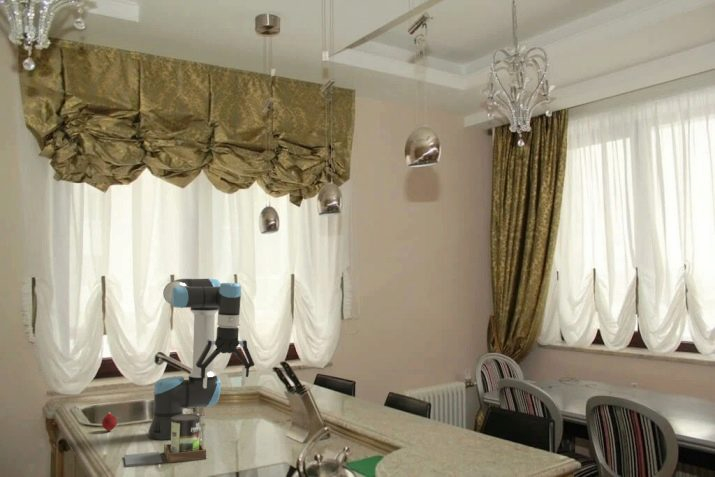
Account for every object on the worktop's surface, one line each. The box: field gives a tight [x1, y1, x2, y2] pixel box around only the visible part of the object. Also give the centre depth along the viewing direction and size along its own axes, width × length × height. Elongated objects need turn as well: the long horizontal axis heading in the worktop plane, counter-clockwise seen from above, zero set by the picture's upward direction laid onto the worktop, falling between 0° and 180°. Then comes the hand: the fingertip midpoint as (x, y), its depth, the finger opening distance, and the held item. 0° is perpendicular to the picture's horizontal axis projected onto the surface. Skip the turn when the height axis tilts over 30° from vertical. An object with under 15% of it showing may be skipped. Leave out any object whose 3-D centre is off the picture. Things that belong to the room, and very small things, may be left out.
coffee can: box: [170, 413, 201, 453], centre depth 224 cm, size 10×10×14 cm
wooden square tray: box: [163, 440, 207, 464], centre depth 224 cm, size 13×13×3 cm
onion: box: [101, 411, 118, 432], centre depth 257 cm, size 6×6×8 cm
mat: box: [123, 451, 163, 468], centre depth 218 cm, size 12×12×1 cm
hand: (224, 386), depth 215 cm, fingers open, 13 cm apart
